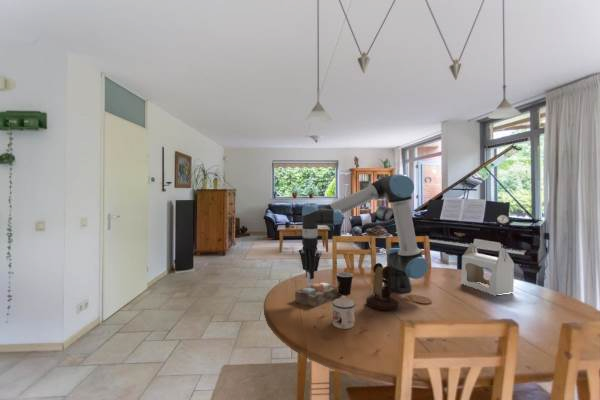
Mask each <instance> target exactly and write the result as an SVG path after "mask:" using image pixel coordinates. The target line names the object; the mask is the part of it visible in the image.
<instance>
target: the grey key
mask: <svg viewBox="0 0 600 400" xmlns="http://www.w3.org/2000/svg"><path fill="white" fill-rule="evenodd" d="M307 287H308V288H306V287H304V288H305V289H303V288H302V289H303V293H306V294H309V295H310V294H313V293H315V289H312V288H309V286H307Z"/></svg>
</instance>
